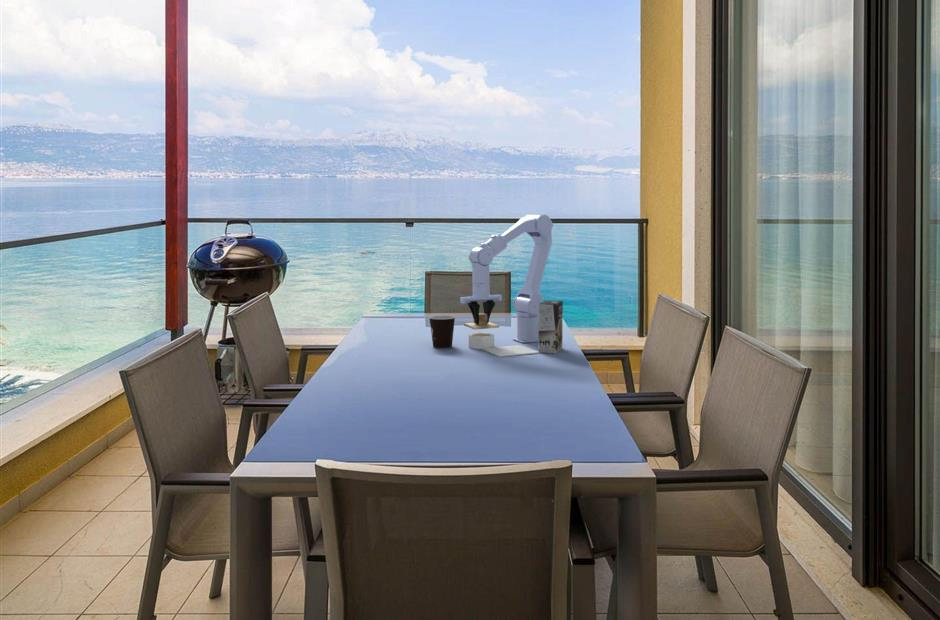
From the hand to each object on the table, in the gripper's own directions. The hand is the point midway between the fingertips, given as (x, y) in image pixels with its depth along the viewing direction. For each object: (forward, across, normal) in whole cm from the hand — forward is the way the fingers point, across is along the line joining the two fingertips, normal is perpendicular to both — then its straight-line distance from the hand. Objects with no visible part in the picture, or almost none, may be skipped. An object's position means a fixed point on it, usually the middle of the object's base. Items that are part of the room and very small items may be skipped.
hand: (481, 323), depth 287 cm
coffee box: (+8, +18, -16) cm, 25 cm away
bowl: (+8, 0, 0) cm, 8 cm away
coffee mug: (+8, -11, +7) cm, 15 cm away
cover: (+1, 0, 0) cm, 1 cm away
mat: (+8, +5, -12) cm, 15 cm away
